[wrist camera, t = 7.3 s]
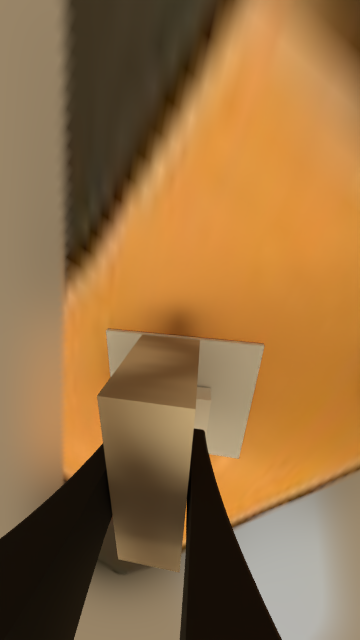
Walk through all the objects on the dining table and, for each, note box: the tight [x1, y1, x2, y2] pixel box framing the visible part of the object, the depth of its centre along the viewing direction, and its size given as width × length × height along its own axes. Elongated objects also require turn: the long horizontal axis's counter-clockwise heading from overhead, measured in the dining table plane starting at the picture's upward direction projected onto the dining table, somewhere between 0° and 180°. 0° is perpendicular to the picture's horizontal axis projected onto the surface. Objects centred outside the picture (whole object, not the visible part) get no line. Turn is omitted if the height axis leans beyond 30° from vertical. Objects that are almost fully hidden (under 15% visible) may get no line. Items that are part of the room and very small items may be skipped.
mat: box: [106, 329, 264, 459], centre depth 20 cm, size 14×14×1 cm
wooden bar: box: [97, 334, 200, 572], centre depth 10 cm, size 3×10×4 cm, turn 177°
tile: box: [194, 387, 211, 436], centre depth 20 cm, size 6×2×9 cm
